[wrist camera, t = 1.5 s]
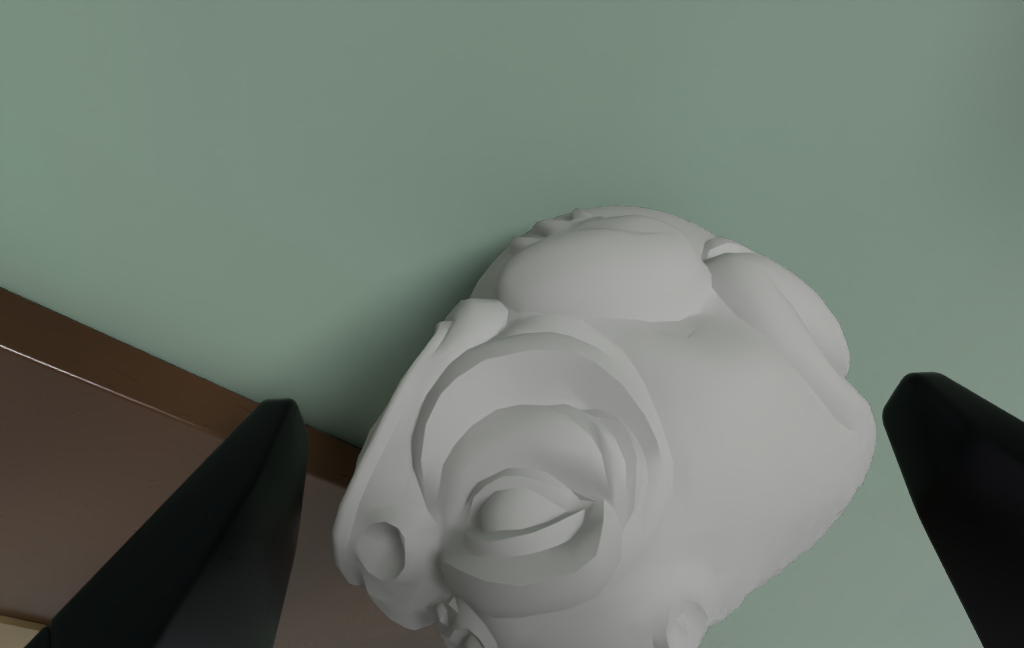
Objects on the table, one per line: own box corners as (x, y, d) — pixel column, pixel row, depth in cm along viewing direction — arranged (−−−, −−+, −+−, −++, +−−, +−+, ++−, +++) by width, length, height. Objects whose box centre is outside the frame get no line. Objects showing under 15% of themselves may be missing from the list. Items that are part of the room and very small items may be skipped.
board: (615, 562, 19) (623, 607, 18) (294, 727, 28) (288, 763, 27) (-212, 188, 9) (-301, 237, 8) (-289, 626, 18) (-336, 676, 17)
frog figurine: (366, 109, 9) (213, 543, 4) (812, 119, 9) (1259, 515, 4) (400, 385, 13) (350, 784, 8) (711, 382, 13) (869, 755, 8)
